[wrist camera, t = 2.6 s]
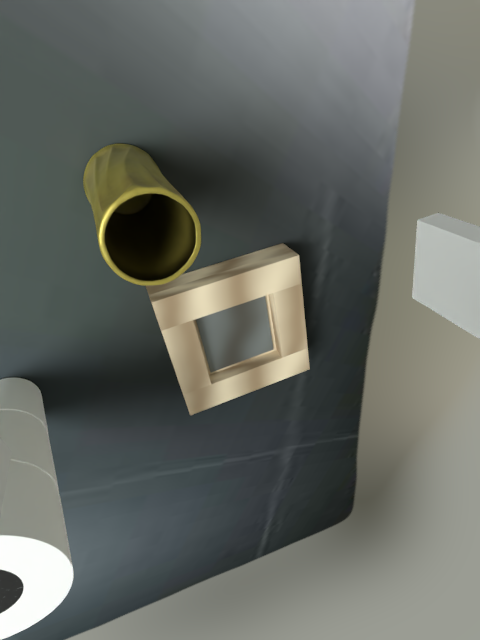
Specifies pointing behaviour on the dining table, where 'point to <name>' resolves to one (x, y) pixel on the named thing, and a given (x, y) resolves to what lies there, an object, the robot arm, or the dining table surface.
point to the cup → (30, 514)
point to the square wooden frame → (234, 325)
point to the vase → (140, 217)
